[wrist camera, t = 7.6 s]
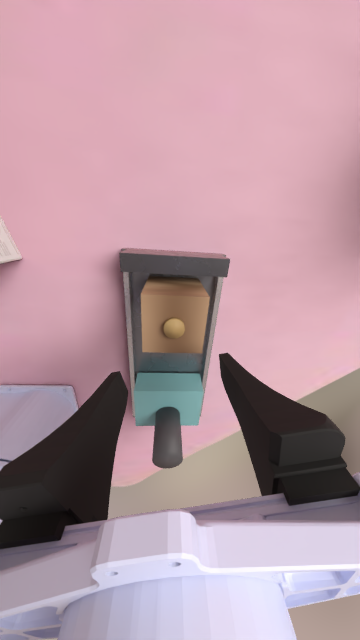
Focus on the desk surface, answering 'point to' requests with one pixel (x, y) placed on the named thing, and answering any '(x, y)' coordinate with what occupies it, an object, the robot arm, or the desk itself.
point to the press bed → (135, 275)
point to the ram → (167, 411)
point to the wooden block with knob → (173, 315)
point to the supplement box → (7, 245)
